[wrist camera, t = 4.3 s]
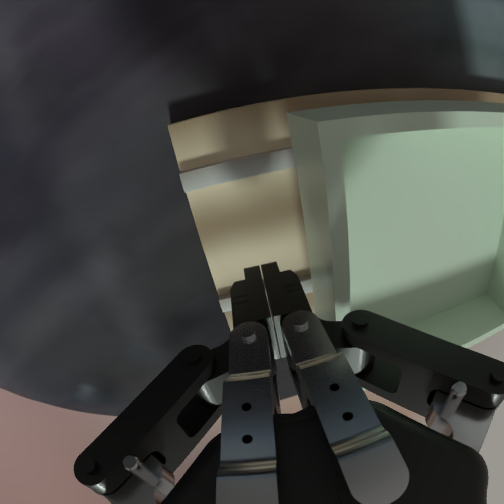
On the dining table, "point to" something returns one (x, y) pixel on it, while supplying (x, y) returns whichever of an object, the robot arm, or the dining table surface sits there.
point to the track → (262, 181)
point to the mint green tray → (406, 212)
